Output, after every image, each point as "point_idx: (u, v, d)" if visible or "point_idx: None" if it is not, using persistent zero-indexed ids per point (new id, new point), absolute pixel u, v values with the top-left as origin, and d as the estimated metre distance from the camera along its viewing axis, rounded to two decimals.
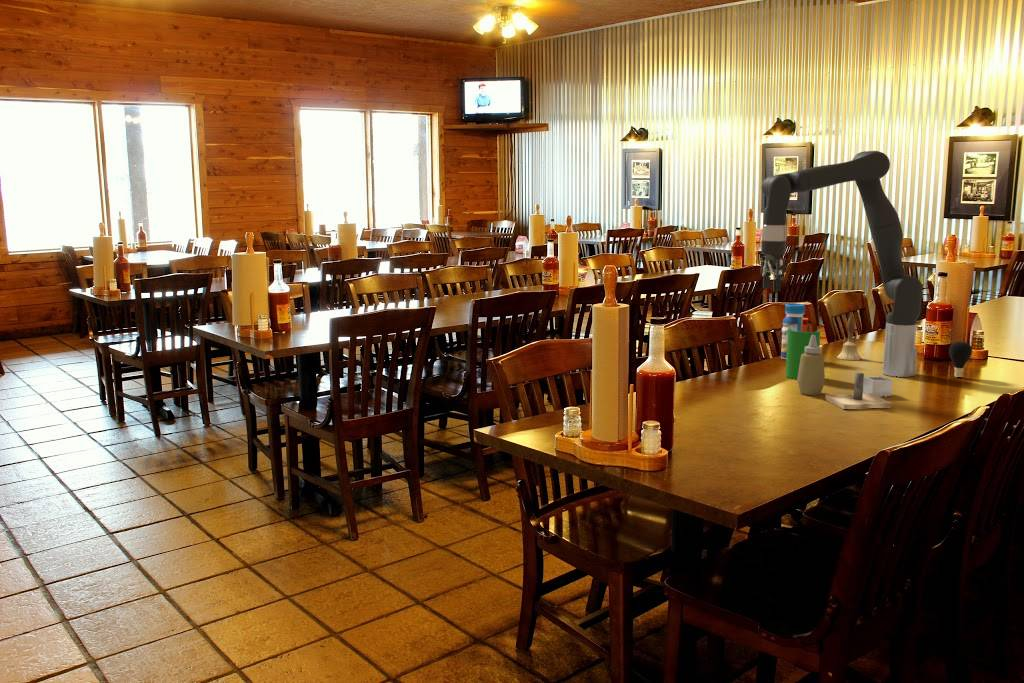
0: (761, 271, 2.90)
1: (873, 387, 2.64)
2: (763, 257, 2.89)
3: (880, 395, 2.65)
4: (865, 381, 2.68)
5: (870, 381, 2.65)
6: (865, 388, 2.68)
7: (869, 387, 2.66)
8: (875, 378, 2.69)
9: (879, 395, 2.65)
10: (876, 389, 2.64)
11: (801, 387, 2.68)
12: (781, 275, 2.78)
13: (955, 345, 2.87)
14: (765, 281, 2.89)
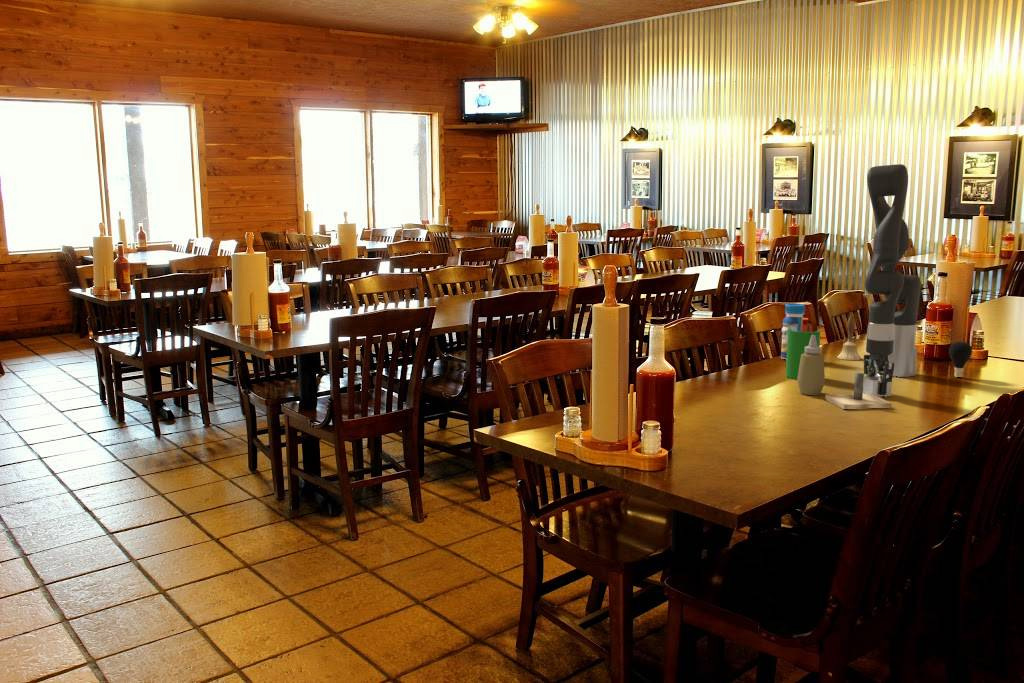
0: (865, 371, 2.72)
1: (873, 387, 2.64)
2: (866, 356, 2.71)
3: (880, 395, 2.65)
4: (865, 381, 2.68)
5: (870, 381, 2.65)
6: (865, 388, 2.68)
7: (869, 387, 2.66)
8: (875, 378, 2.69)
9: (879, 395, 2.65)
10: (876, 389, 2.64)
11: (801, 387, 2.68)
12: (888, 379, 2.61)
13: (955, 345, 2.87)
14: None
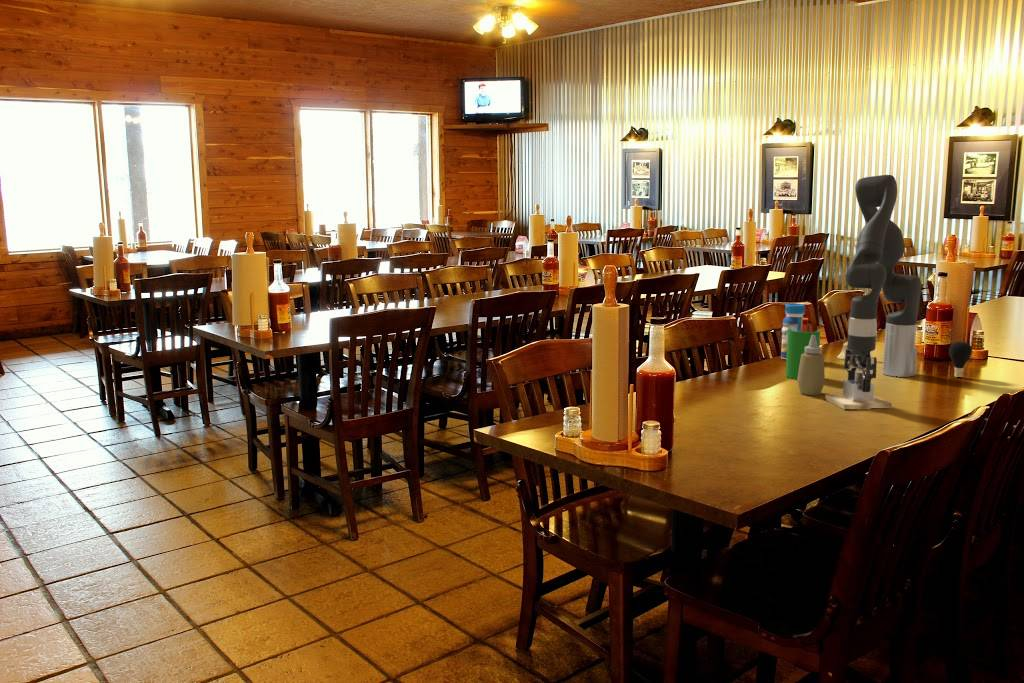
0: (845, 366, 2.61)
1: (854, 391, 2.53)
2: (848, 351, 2.60)
3: (861, 399, 2.54)
4: (846, 385, 2.57)
5: (851, 385, 2.54)
6: (846, 392, 2.57)
7: (850, 390, 2.55)
8: None
9: (860, 399, 2.53)
10: (858, 393, 2.53)
11: (801, 387, 2.68)
12: (872, 375, 2.48)
13: (955, 345, 2.87)
14: (850, 378, 2.59)
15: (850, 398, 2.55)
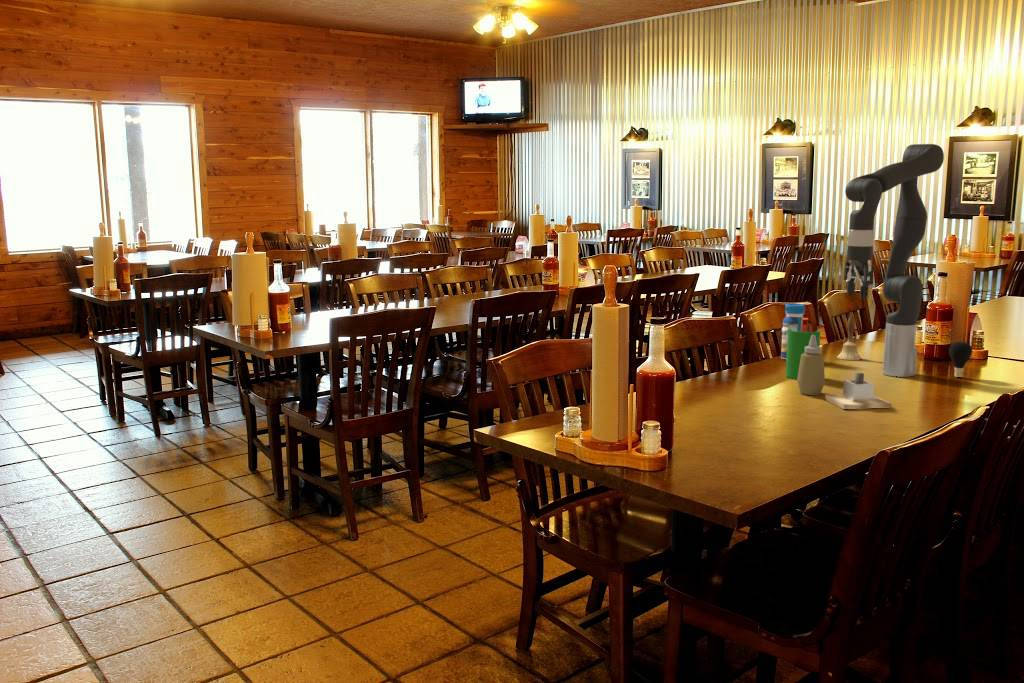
0: (845, 277, 2.81)
1: (854, 391, 2.53)
2: (847, 263, 2.80)
3: (861, 399, 2.54)
4: (846, 385, 2.57)
5: (851, 385, 2.54)
6: (846, 392, 2.57)
7: (850, 390, 2.55)
8: None
9: (860, 399, 2.53)
10: (858, 393, 2.53)
11: (801, 387, 2.68)
12: (869, 281, 2.69)
13: (955, 345, 2.87)
14: (849, 287, 2.80)
15: (850, 398, 2.55)
